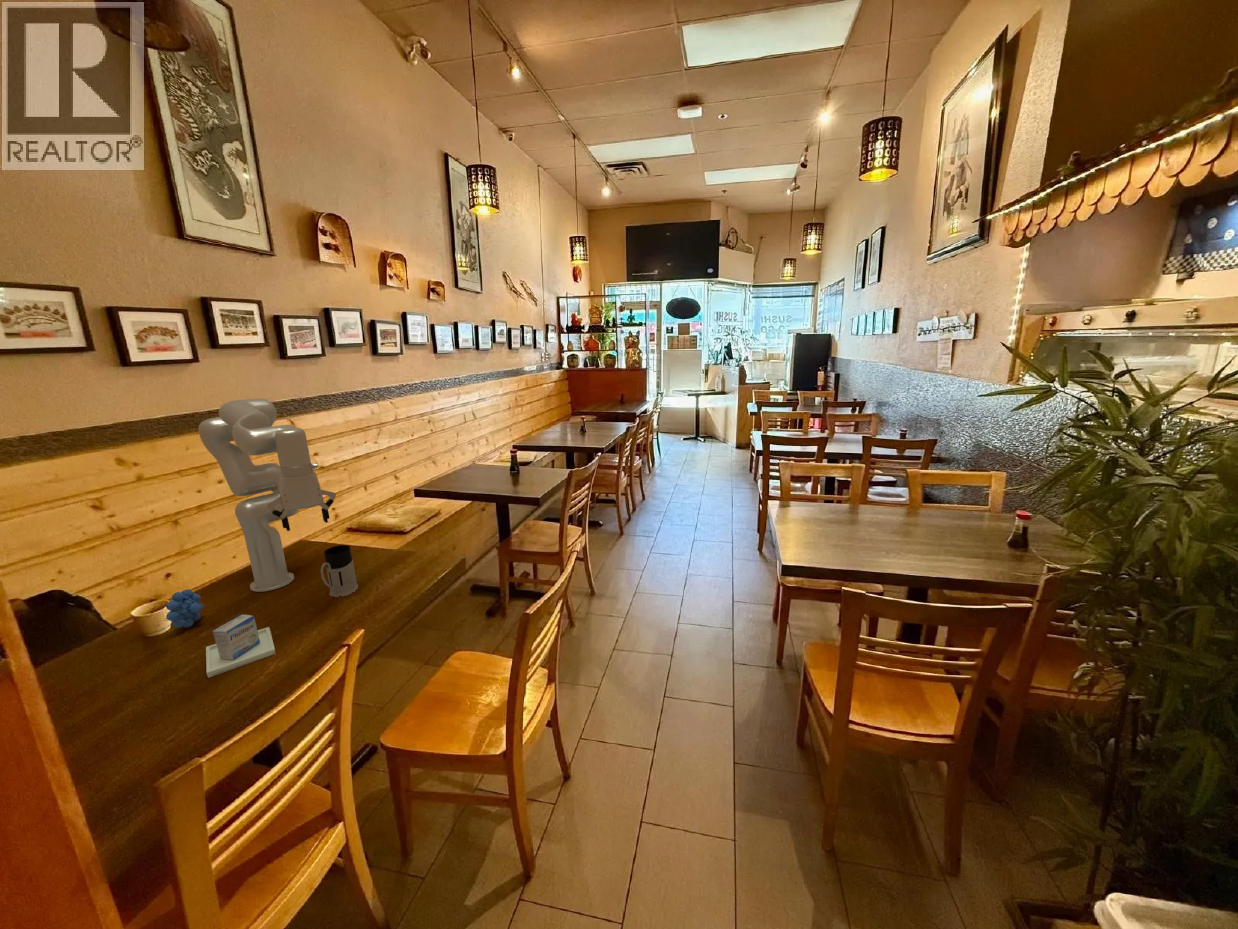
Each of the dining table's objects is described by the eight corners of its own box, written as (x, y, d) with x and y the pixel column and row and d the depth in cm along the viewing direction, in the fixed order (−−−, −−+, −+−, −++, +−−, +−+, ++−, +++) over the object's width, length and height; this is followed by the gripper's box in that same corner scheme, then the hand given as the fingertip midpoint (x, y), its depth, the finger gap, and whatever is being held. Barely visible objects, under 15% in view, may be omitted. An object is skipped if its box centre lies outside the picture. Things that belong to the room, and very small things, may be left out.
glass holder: (363, 583, 163) (357, 543, 160) (341, 605, 150) (334, 562, 146) (338, 584, 163) (331, 544, 160) (314, 606, 150) (305, 563, 146)
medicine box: (233, 661, 123) (225, 632, 121) (219, 659, 124) (211, 630, 121) (260, 642, 130) (254, 615, 128) (247, 641, 131) (241, 613, 129)
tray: (207, 651, 128) (205, 647, 127) (270, 631, 136) (269, 626, 136) (208, 678, 117) (206, 672, 117) (275, 654, 126) (274, 649, 126)
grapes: (190, 637, 134) (180, 599, 131) (164, 639, 134) (153, 601, 131) (219, 614, 146) (210, 579, 143) (195, 616, 145) (186, 581, 142)
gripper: (328, 463, 145) (337, 515, 149) (258, 473, 134) (270, 529, 138) (333, 467, 139) (342, 521, 143) (261, 478, 128) (273, 537, 132)
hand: (307, 525), depth 141 cm, fingers open, 9 cm apart
